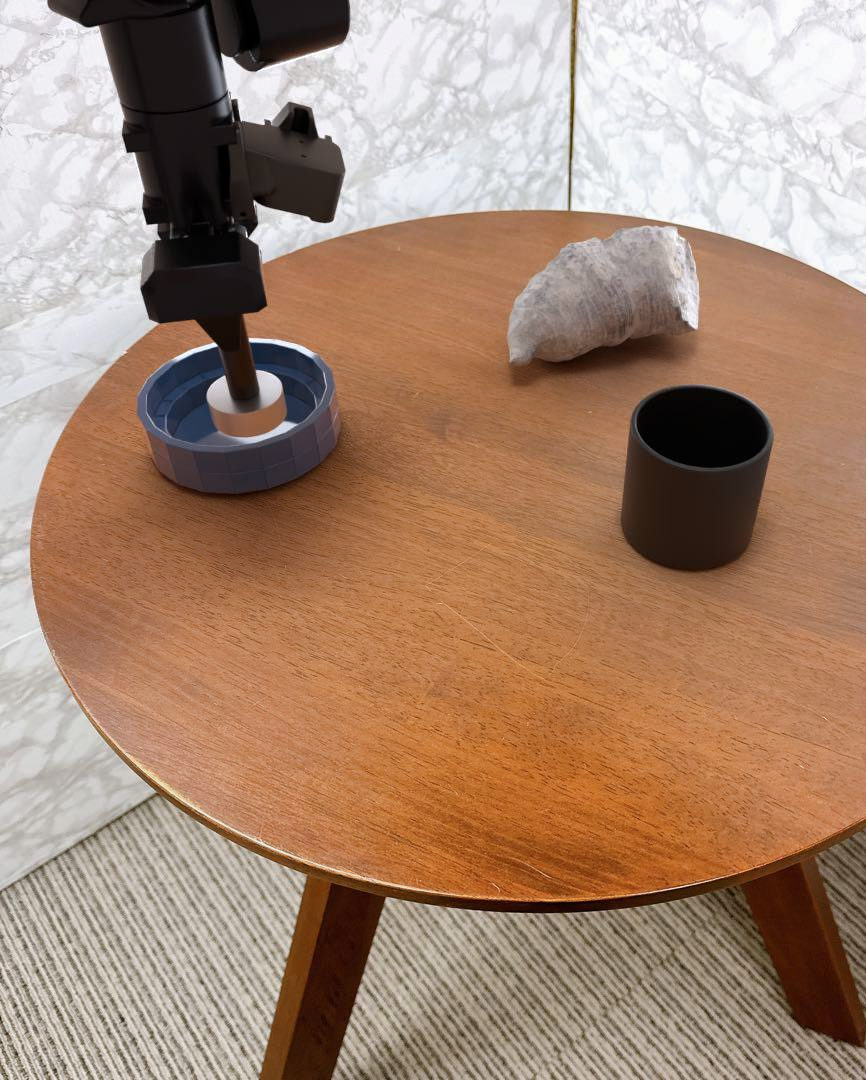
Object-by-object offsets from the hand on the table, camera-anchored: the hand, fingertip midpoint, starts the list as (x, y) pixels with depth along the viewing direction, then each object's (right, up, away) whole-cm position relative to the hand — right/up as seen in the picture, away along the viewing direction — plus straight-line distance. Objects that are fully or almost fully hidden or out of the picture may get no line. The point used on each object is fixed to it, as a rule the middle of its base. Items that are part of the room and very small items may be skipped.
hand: (231, 340), depth 66 cm
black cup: (+31, -11, +8) cm, 34 cm away
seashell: (+26, +4, +24) cm, 35 cm away
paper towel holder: (0, -4, +4) cm, 6 cm away
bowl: (-3, -5, +14) cm, 15 cm away
